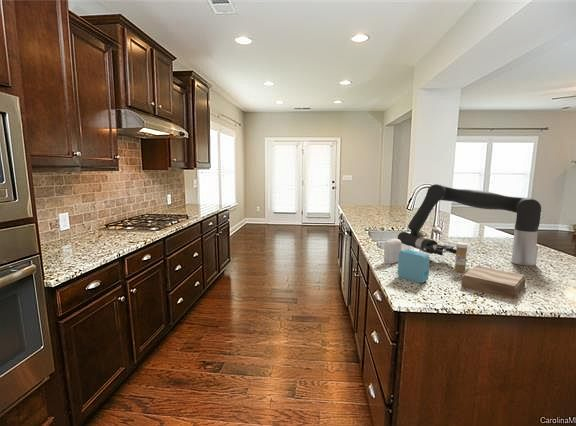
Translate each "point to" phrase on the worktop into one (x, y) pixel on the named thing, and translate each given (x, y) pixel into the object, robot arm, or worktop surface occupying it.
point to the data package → (413, 266)
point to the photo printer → (392, 250)
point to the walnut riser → (494, 281)
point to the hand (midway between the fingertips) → (449, 252)
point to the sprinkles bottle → (461, 256)
